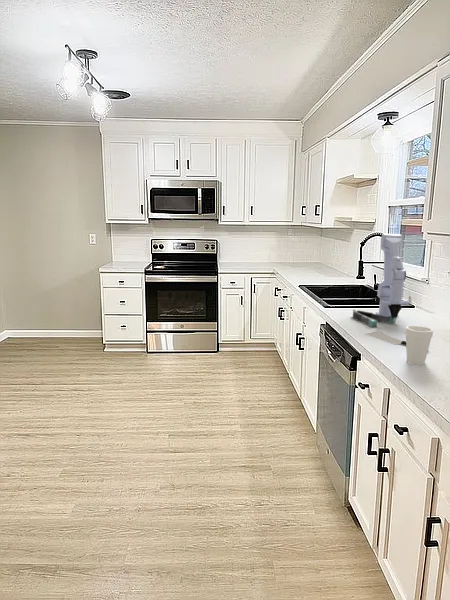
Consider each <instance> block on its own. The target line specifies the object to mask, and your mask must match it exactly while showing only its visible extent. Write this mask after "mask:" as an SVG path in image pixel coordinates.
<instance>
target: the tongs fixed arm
mask: <svg viewBox="0 0 450 600" xmlns="http://www.w3.org/2000/svg"><path fill="white" fill-rule="evenodd" d="M352 317H353V316H352ZM353 319H354V320H357V321H359V322H361V321H362V322H361V323H363V322H364V324H366V325H368V327H371V328H377V327H378V321H376V320H374V319H371V318H369V317H367V316H364V315H363V314H361V313H358V312H354V317H353Z"/></svg>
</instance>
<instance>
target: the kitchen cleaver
mask: <svg viewBox="0 0 450 600" xmlns="http://www.w3.org/2000/svg"><path fill="white" fill-rule="evenodd" d="M365 335H367V336H368V337H369V336H370V337H371V338H375V339H378V340H381V341H383V342H386V343H389V344H391V345H394V346H397V345H401V346H405V347H406V340H401V339H398V338H396V337H393V336H391V335H389V334H387V333H385V332H383V331H382V330H375V331H372V332H371V331H370V332H367V333H365ZM428 352H429V349H428Z"/></svg>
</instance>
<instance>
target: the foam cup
mask: <svg viewBox="0 0 450 600" xmlns="http://www.w3.org/2000/svg"><path fill="white" fill-rule="evenodd" d="M405 327H406V328H405V341H406V346H405V347H406V348H405V349H406V362H407V361H408V362H407V363H409V362H410V363H409V364H411V363H413V364H412V365H417V364H422V365H425V362H426V359H427V355H428V353H429V351H428V350H429V348H430V344H431V341H432V338H433V332H434V329H433V328H430V327H427V326H423V325H407V326H405Z"/></svg>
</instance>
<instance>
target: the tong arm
mask: <svg viewBox="0 0 450 600" xmlns="http://www.w3.org/2000/svg"><path fill="white" fill-rule="evenodd" d="M354 312H358V313H361V314H363V315H364V316H367V317H369V318H371V319H374V320H376V321H377V322H382V323H386V324H390V325H391V324H392V325H394V324H396V322H397V321H396V320H397V318H396V317H391V316H384V315H378V314H376V313H373V312H369V311H365V310H359V309H353V310H352V317H354Z"/></svg>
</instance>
